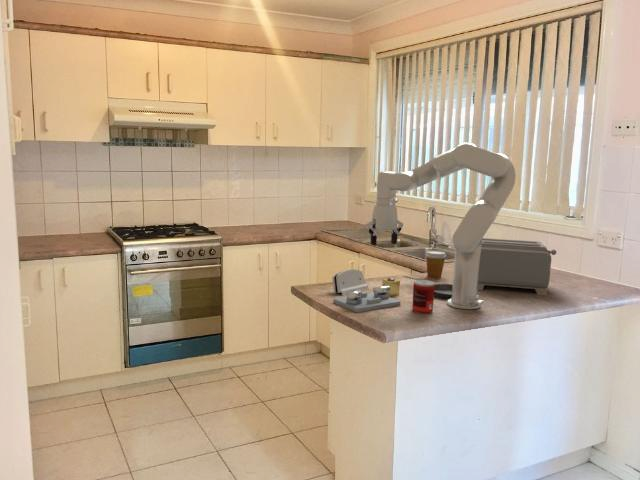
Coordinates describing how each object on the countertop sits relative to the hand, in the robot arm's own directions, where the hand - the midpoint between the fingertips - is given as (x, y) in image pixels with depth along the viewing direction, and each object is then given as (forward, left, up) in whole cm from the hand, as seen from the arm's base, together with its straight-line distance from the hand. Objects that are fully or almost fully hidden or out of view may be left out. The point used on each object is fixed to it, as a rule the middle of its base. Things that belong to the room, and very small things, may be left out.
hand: (383, 244), depth 230 cm
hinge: (+10, +9, -21) cm, 25 cm away
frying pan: (-7, -23, -21) cm, 32 cm away
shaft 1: (-10, +22, -21) cm, 32 cm away
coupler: (-2, -3, -21) cm, 21 cm away
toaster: (-18, -60, -21) cm, 66 cm away
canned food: (-26, +2, -21) cm, 34 cm away
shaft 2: (-9, +8, -21) cm, 24 cm away
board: (-9, +15, -21) cm, 27 cm away
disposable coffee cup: (+12, -42, -21) cm, 49 cm away
